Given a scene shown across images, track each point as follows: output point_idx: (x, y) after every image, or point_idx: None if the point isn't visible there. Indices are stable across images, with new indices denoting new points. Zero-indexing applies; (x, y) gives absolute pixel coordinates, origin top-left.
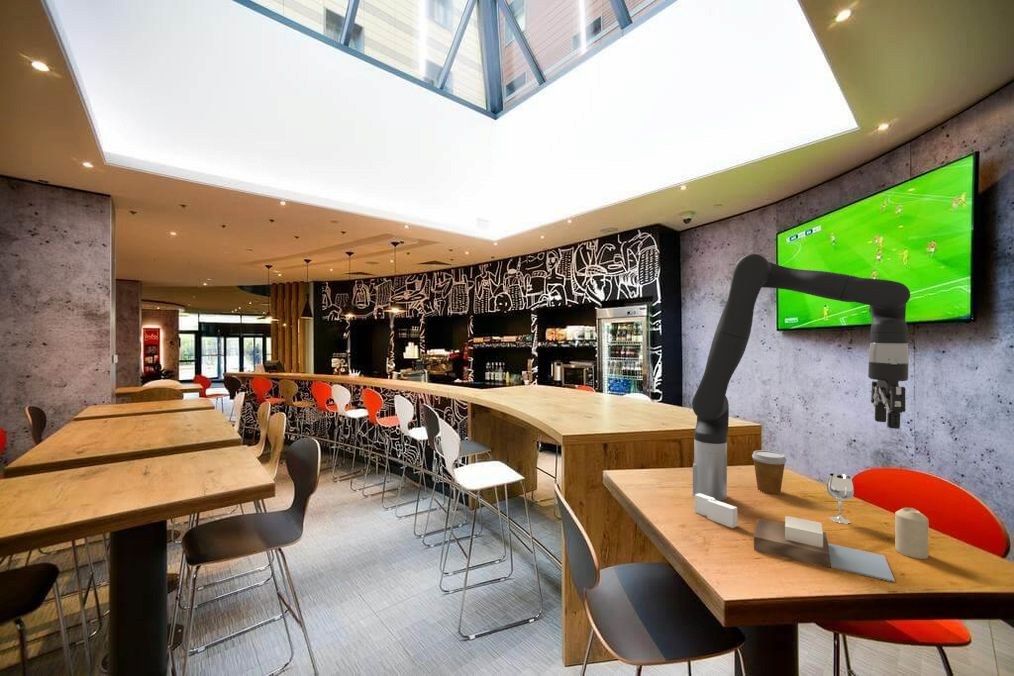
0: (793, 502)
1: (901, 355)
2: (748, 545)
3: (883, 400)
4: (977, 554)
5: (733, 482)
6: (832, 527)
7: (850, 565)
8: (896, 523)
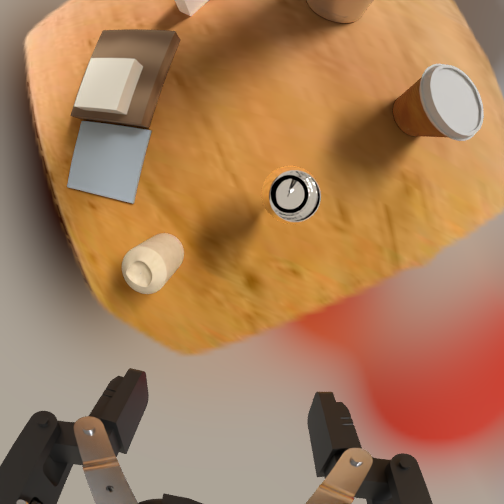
0: (359, 137)
1: None
2: None
3: (102, 477)
4: (201, 342)
5: None
6: (237, 162)
7: (87, 144)
8: (148, 242)
